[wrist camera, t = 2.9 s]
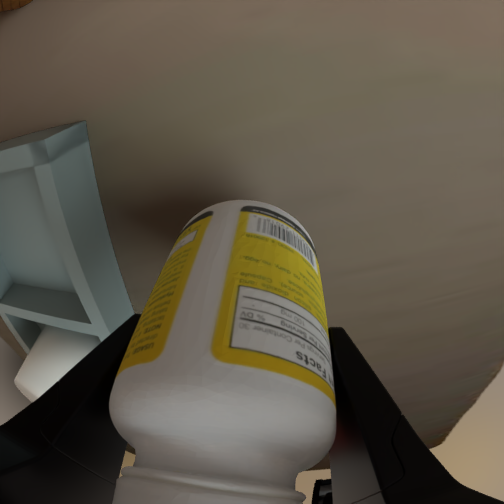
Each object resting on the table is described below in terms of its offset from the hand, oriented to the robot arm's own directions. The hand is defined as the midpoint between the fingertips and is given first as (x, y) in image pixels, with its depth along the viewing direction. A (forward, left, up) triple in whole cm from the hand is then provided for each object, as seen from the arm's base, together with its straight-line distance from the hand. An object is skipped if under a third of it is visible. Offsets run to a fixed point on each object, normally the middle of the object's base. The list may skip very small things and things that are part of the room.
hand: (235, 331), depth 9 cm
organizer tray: (-5, +13, -6) cm, 15 cm away
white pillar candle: (-10, +13, -5) cm, 17 cm away
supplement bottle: (0, 0, -4) cm, 4 cm away
